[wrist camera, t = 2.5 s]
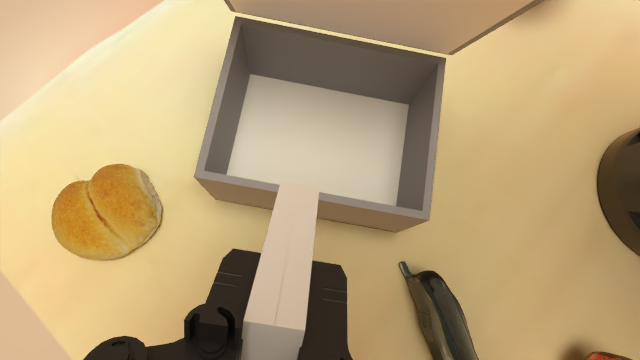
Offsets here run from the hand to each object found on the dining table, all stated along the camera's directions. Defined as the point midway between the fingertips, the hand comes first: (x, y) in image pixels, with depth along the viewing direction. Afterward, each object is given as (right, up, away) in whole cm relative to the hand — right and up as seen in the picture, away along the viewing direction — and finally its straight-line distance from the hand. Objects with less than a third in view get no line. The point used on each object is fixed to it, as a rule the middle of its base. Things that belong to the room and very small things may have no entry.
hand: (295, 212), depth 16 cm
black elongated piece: (+12, -13, +21) cm, 28 cm away
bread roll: (-18, -2, +22) cm, 29 cm away
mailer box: (+1, +4, +24) cm, 25 cm away
